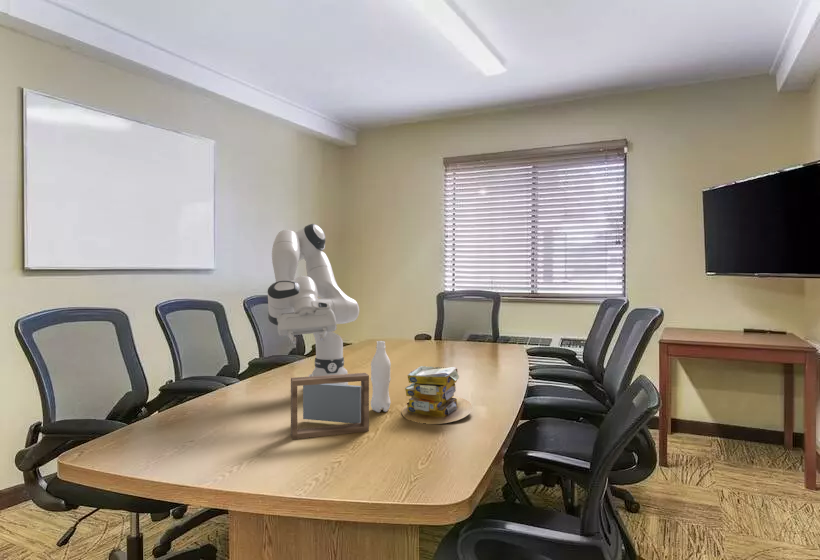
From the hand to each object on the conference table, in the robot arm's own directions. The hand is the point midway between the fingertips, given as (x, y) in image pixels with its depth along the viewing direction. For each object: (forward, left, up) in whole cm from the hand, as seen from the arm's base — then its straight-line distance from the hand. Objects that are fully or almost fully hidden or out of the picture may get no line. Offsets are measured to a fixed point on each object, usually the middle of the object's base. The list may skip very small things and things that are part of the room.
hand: (308, 341), depth 171 cm
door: (+9, +6, -25) cm, 28 cm away
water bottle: (-1, +26, -27) cm, 37 cm away
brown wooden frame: (+18, +4, -26) cm, 32 cm away
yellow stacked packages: (+10, +44, -27) cm, 52 cm away
